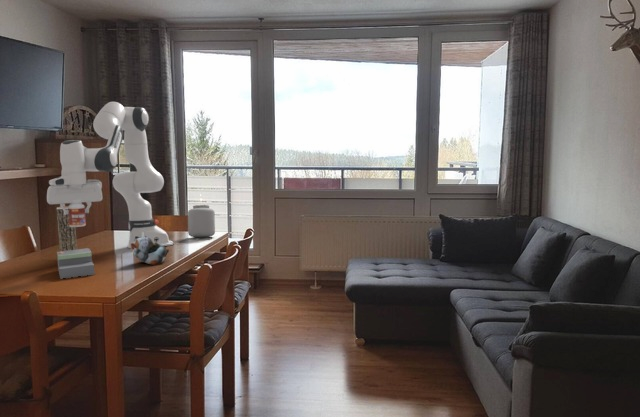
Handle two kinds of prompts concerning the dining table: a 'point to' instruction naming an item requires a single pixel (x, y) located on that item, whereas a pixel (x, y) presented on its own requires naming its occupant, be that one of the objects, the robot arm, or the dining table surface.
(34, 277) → the dining table surface
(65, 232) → the bark log
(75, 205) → the pill bottle
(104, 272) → the dining table surface
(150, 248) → the blue-grey lumpy figure
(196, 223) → the jar
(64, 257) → the stepped stand
